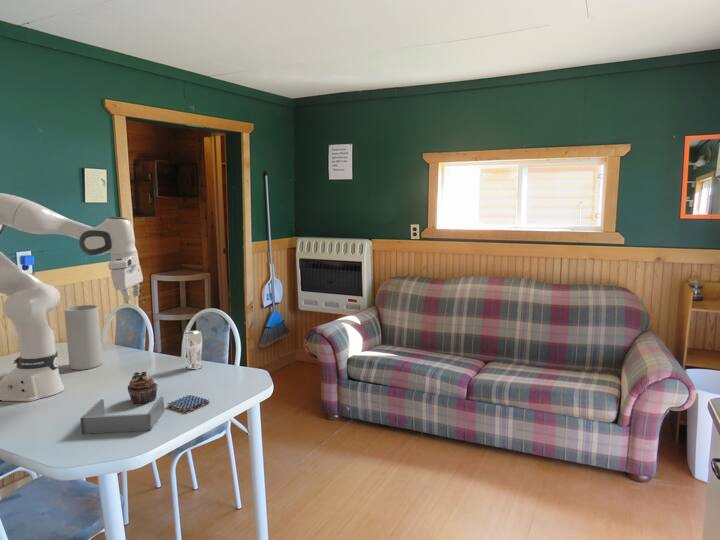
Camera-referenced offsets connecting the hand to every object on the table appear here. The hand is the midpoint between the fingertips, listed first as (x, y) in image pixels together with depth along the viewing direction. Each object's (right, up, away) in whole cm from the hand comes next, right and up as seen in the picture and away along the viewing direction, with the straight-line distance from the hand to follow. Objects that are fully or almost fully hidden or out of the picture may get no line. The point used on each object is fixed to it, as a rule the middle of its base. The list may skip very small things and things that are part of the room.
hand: (132, 298), depth 195 cm
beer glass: (+15, -30, +26) cm, 43 cm away
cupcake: (+8, -35, -9) cm, 37 cm away
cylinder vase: (-33, -31, +31) cm, 54 cm away
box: (+10, -37, -28) cm, 48 cm away
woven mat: (+26, -36, -15) cm, 47 cm away
